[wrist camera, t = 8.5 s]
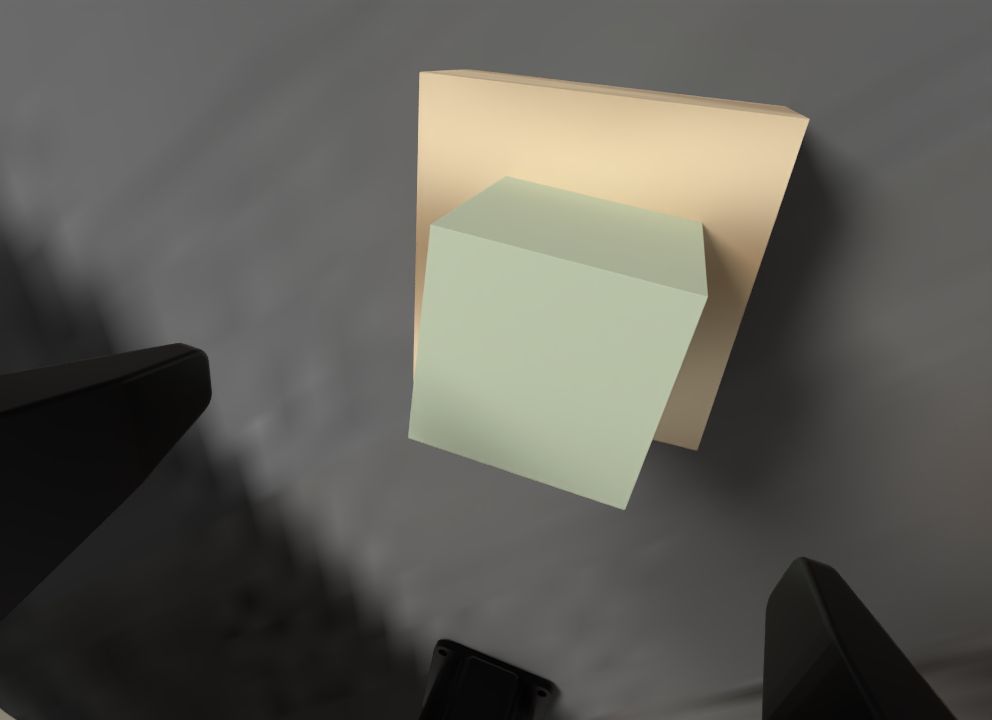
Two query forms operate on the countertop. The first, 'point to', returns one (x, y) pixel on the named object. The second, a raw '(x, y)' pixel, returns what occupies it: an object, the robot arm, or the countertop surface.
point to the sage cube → (554, 333)
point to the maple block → (620, 183)
